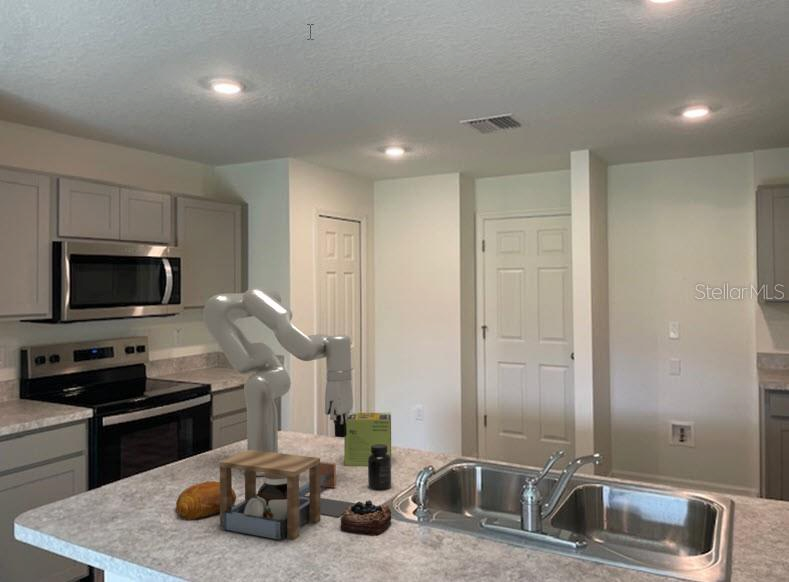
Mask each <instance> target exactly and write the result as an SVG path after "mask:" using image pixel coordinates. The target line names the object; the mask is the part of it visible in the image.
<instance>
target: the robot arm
mask: <svg viewBox="0 0 789 582" xmlns="http://www.w3.org/2000/svg"><path fill="white" fill-rule="evenodd" d="M251 317H254V318H255V319H257V320H259V322H261V323H262V324H263V325H265V326H266V327H267V328H269V329H270V330H271V331H272V332H273V334H274V336H275V337H276V339H277V342H278V343H279V344H280V346H282V348H283V349H284V350H286V351H287V352H288V353H289V354H290V355H292V356H294V357H295V358H297V359H298V360H300V361H303V362H312V361H315V360H320V359H325V360H326V361H325V364H326V366H325V367H326V385H325V393H324V395H325V396H324V413H325V415H327V416H328V415H330V416H329V420H330V421H333V424H334V437H335V438H345V436H347V429H346V422H347V416H348V414H349V413H351V410H353V406H354V405H353V404H354V403H353V401H354V400H353V387H352V381H353V380H352V378H353V377H352V347H351V346H352V345H351V338H350V337H349V336H348V335H346V334H345V335H344V334H337V335H335V334H334V335H328V334H320V333H319V334H311V335H306V334H304V332H302V331H301V330H300V329H299V328H297V327H296V326H295V325H294V324H293V323H292V318H293V312H292V310H291V309H290V308H288V307H287V306H285V305H284V304H283V303H282V298H281V294H280V293H279V292H278V291H277V290H276V289H274V288H272V287H262V286H261V287H259V286H258V287H251V288H249V289H247V290H246V291H245V292H242V293H239V292H238V293H237V292H236V293H219V294H215V295H213V296H211V297H210V298H208V300H207V301H206V303H205V304H204V307H203V321H204V326H206V329H207V331H208V332H209V334H210V335H211V336H212V338H213V339H214V340H215V342H216V343H217V344H218V346H219V348H220V349H221V351H222V352H223V354H224V355H225V357H226V359H227V360H228V362H229V364H230V365H231V366H232V368H233V369H234V371H235V372H237V374H240V375H246V374H251V375H250V376H249V377H248V378H247V379H246V380H245V382H244V386H243V393H244V400H245V403H246V423H247V424H246V427H247V428H246V430H247V431H246V433H247V437H246V439H247V441H246V442H247V443H246V445H247V447H246V449H247V450H257V451H265V452H273V453H279V449H278V448H279V447H278V444H279V443H278V441H279V440H278V439H279V437H278V434H279V433H278V428H279V426H278V423H279V421H278V417H279V416H278V409H277V406H276V403H275V399H278V398H280V397H283V396H284V395H286V394H288V392H289V390H290V389H291V384H292V383H291V378H290V377H291V376H290V375H289V373H288V371H287V370H286V368H285V367H284V365H283V364H282V362H281V360H280V359H279V358H278V356H277V355H276V353H275V351H273V349H272V348H271V347H270V346H269V345H268V344H266V343H262V342H253V343H252V342H250V341H249V339H248V338H247V337H246V335H245V334H244V332H243V331H242V330H241V328H240V327H239V326H237V325H236V324H235V323H234V322H233V321H232V320H235V319H245V318H251ZM252 373H253V374H252ZM247 450H246V451H247ZM241 471H242V473H243V474H244V475H245V470H241ZM265 474H267V473H261V472H256V477H264V476H265Z"/></svg>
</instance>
